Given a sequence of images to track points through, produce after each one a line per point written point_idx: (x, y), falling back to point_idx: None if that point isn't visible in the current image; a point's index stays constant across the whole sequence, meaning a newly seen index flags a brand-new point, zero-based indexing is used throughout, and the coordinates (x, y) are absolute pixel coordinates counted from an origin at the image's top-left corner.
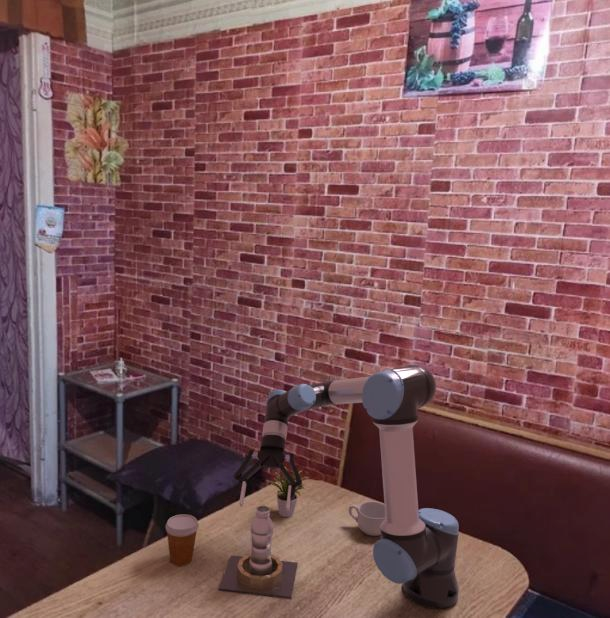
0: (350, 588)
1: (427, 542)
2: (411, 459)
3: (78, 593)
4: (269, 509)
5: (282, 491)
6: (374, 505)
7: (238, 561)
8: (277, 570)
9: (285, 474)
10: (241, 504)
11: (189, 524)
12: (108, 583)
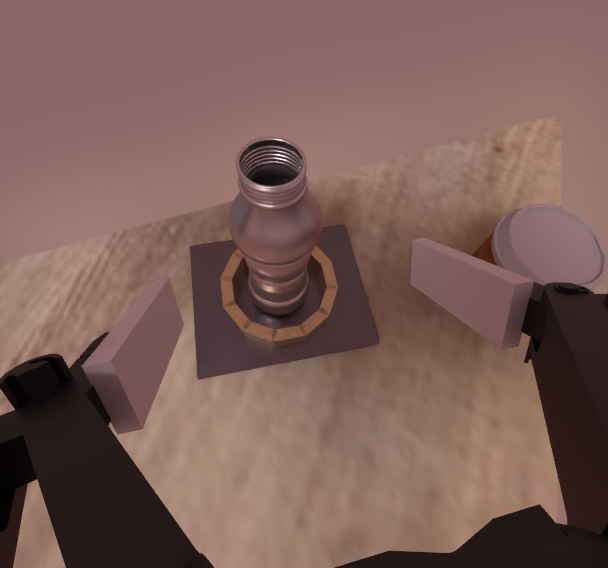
0: (48, 327)
1: None
2: None
3: (544, 157)
4: (237, 165)
5: None
6: None
7: (349, 325)
8: (230, 277)
9: (116, 465)
10: (415, 255)
11: (529, 245)
12: (529, 187)
